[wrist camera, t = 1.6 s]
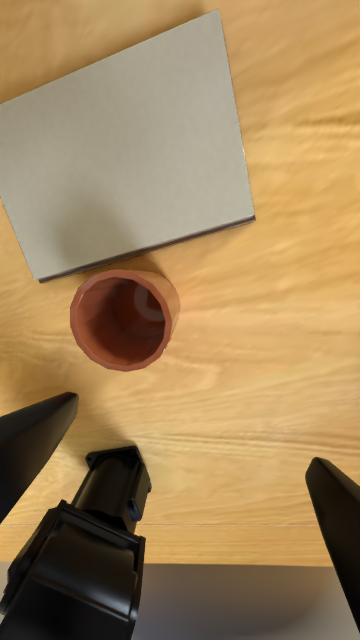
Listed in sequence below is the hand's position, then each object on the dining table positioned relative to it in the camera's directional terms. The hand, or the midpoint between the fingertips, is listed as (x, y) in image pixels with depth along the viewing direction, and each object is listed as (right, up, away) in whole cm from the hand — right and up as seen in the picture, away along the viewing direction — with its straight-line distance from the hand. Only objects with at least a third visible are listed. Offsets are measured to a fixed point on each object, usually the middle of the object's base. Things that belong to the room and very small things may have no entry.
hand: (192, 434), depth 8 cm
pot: (-4, +6, +12) cm, 14 cm away
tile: (-6, +17, +10) cm, 20 cm away
